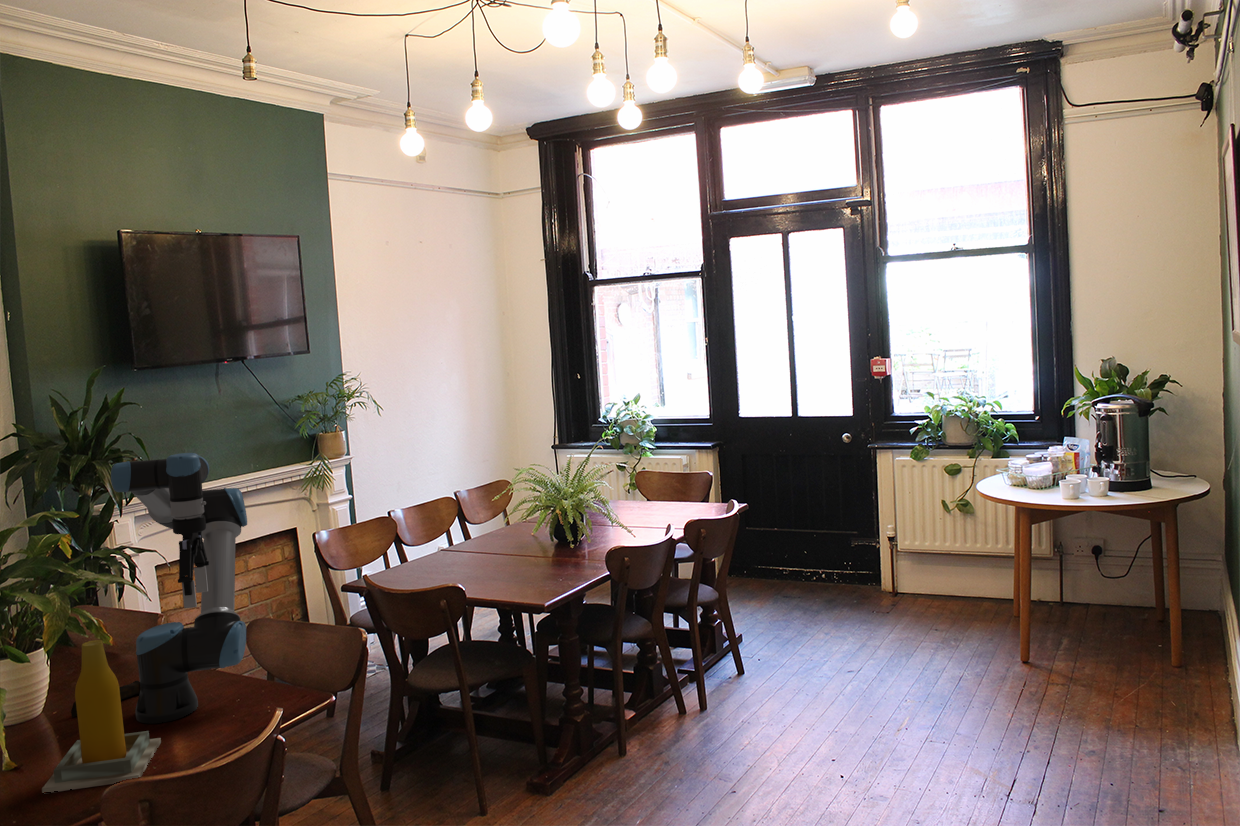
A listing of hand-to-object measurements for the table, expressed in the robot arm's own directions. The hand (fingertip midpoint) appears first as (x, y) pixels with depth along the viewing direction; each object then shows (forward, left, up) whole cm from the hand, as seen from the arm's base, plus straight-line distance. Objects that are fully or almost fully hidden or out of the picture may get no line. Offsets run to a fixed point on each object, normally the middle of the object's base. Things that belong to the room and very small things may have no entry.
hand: (196, 599), depth 236 cm
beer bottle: (+12, -21, -34) cm, 41 cm away
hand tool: (-29, -32, -35) cm, 55 cm away
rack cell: (+12, -21, -35) cm, 42 cm away
